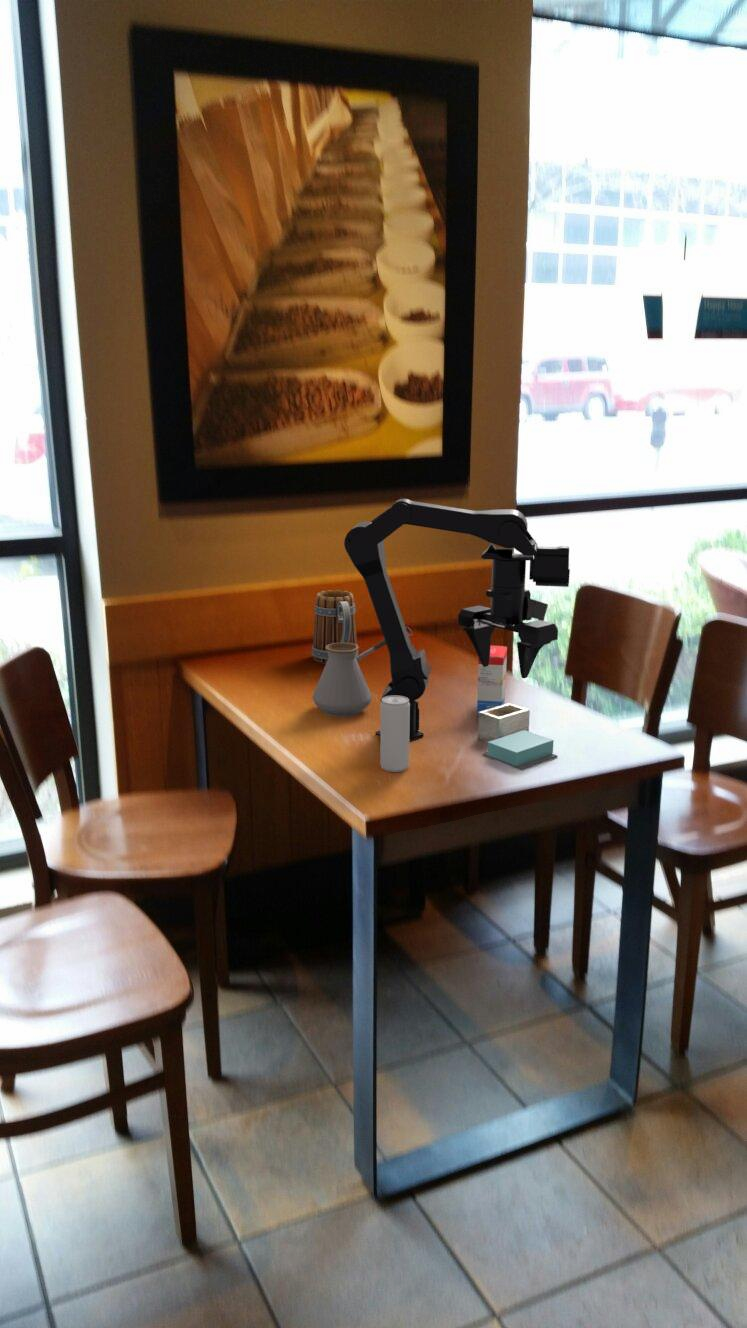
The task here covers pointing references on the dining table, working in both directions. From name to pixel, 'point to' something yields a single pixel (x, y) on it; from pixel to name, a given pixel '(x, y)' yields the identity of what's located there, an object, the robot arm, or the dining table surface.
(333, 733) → the dining table surface
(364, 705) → the coffee pot
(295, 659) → the dining table surface
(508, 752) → the lid
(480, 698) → the ink box
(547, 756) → the coaster
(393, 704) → the beverage can
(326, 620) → the mug
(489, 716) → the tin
